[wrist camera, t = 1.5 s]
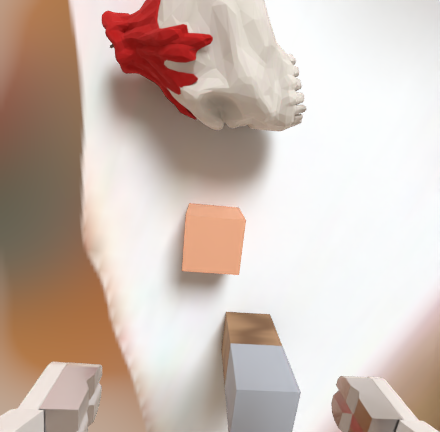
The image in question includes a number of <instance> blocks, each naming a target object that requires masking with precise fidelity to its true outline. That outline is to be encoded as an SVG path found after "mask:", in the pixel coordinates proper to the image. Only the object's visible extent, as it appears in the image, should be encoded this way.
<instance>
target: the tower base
mask: <svg viewBox="0 0 440 432" xmlns="http://www.w3.org/2000/svg"><path fill="white" fill-rule="evenodd" d="M231 343H234V344H253V345H273V346H282V344H281V342H280V339H279V337H278V334H277V331H276V329H275V326H274V324H273V321H272V319H271V316H270V314H253V313H236V312H226V317H225V325H224V334H223V342H222V361H223V373H224V385H225V381H226V374H227V366H228V359H229V351H230V344H231Z"/></svg>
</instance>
